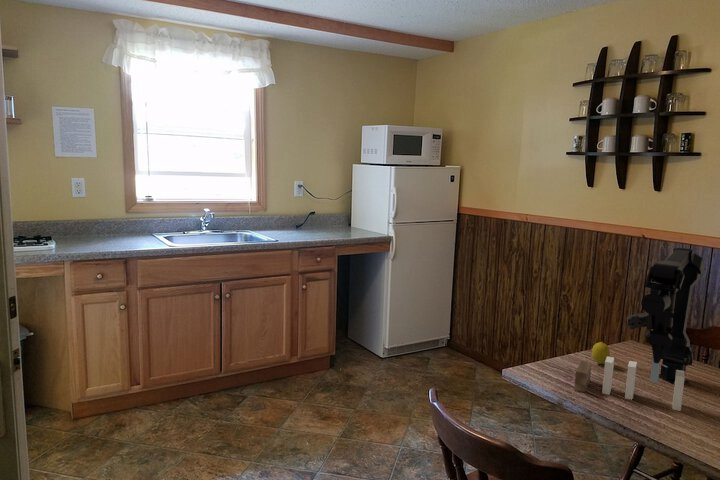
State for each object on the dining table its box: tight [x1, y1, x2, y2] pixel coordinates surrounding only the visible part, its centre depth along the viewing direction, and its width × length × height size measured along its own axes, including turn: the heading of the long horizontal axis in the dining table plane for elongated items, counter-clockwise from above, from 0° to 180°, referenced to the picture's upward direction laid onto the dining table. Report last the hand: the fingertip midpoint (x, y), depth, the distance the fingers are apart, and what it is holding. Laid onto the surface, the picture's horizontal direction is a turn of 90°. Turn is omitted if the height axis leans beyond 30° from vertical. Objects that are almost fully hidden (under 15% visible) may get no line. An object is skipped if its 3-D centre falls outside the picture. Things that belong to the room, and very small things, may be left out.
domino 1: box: [601, 356, 615, 396], centre depth 155 cm, size 2×5×10 cm, turn 148°
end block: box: [573, 360, 592, 393], centre depth 159 cm, size 3×10×6 cm, turn 148°
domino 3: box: [671, 370, 686, 412], centre depth 145 cm, size 2×5×10 cm, turn 148°
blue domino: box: [649, 357, 662, 384], centre depth 148 cm, size 2×5×10 cm, turn 148°
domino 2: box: [624, 360, 638, 401], centre depth 152 cm, size 2×5×10 cm, turn 148°
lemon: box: [591, 341, 611, 365], centre depth 176 cm, size 6×6×8 cm
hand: (656, 360), depth 147 cm, fingers closed on blue domino, 5 cm apart
